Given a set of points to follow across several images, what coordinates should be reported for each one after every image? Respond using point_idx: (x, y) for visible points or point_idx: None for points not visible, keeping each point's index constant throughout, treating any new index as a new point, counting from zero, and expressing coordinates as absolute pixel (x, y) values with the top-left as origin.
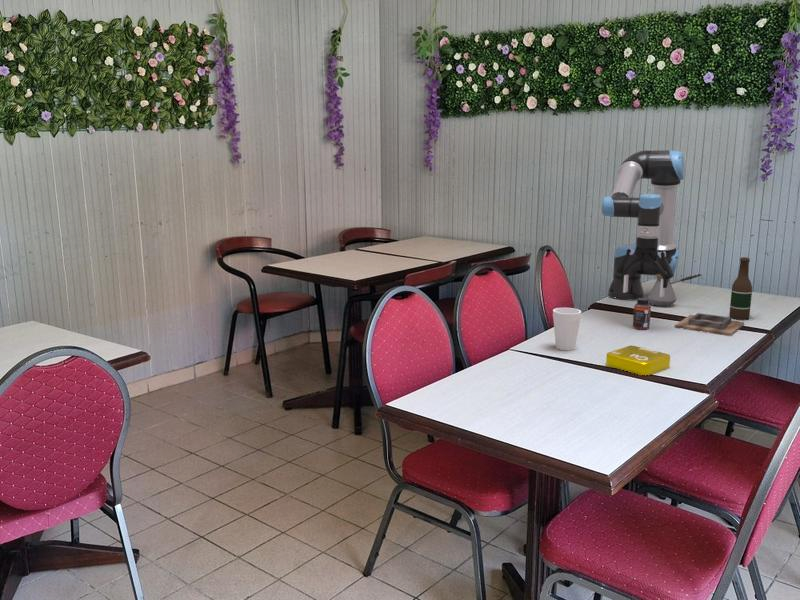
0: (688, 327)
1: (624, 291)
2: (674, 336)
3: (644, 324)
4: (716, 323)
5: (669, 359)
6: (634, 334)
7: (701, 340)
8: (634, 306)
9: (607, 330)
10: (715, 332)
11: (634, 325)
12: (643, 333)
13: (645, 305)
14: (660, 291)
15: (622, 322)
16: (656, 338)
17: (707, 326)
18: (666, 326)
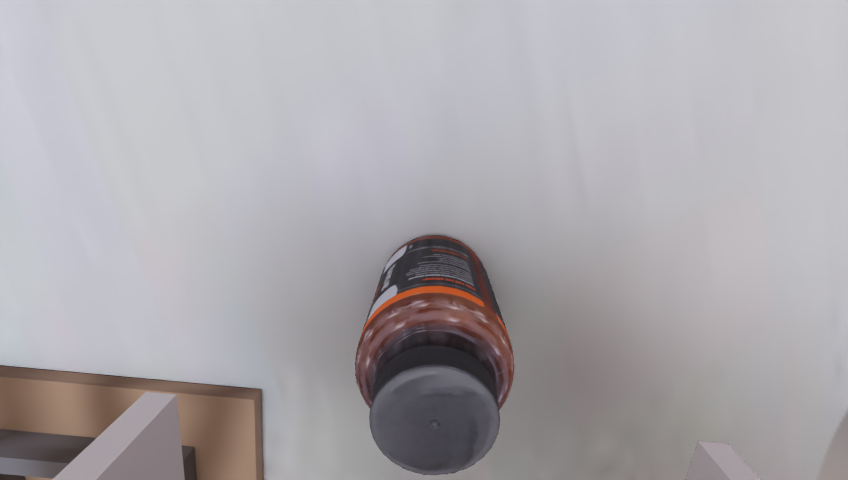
0: (172, 390)
1: (718, 456)
2: (189, 185)
3: (400, 254)
4: (2, 455)
5: None
6: (431, 93)
7: (18, 173)
8: (507, 336)
9: (632, 104)
10: (18, 371)
11: (471, 253)
12: (384, 156)
13: (393, 340)
14: (105, 461)
15: (572, 365)
16: (268, 63)
17: (79, 440)
18: (310, 396)
